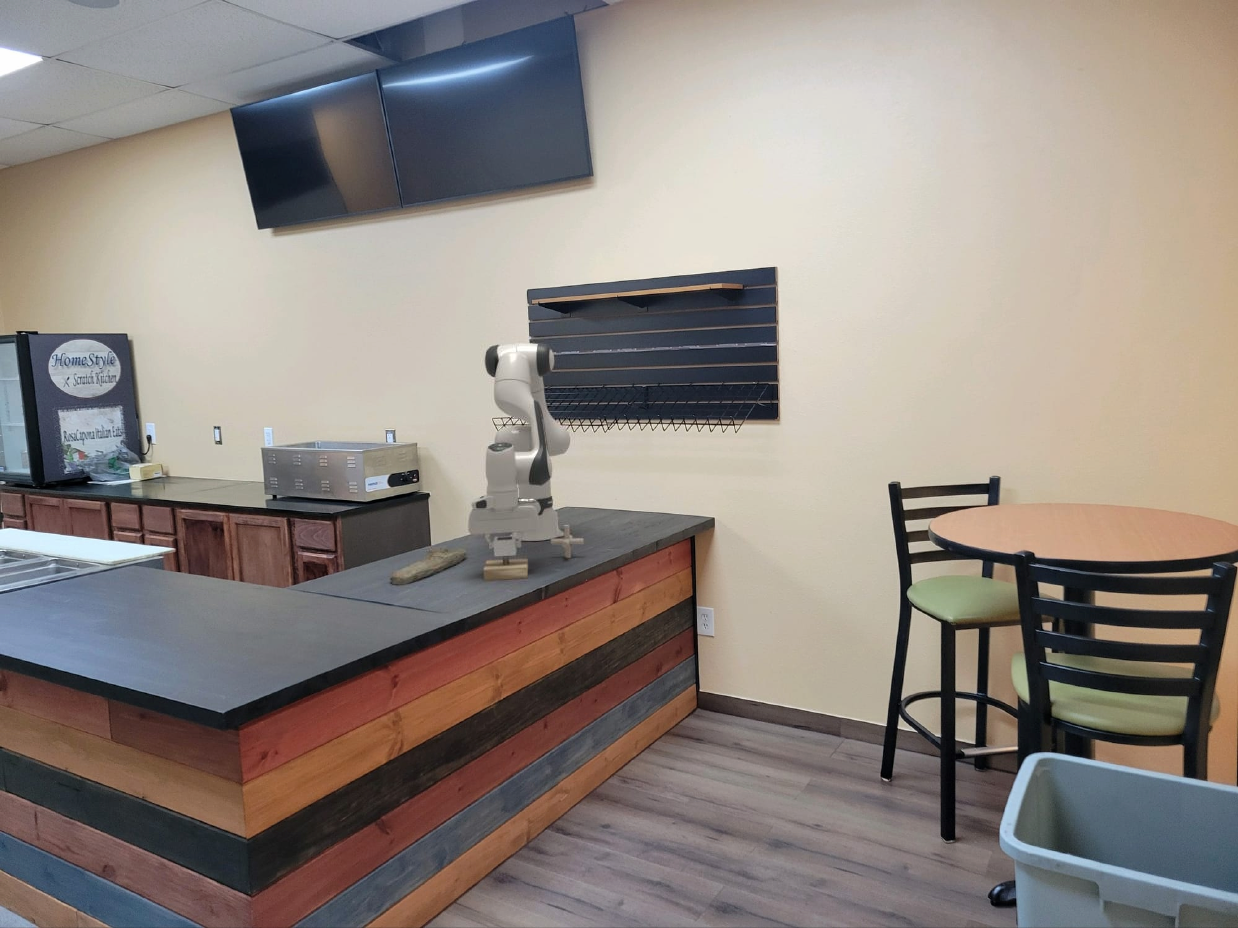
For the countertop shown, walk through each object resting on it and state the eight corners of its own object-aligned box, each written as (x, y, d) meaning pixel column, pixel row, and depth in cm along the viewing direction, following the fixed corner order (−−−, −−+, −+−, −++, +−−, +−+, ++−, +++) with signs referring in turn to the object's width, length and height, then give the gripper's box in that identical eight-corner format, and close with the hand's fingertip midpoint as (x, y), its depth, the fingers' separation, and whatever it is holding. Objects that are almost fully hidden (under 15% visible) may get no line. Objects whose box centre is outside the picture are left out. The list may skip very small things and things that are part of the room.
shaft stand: (487, 570, 251) (485, 541, 250) (528, 567, 252) (526, 539, 251) (484, 580, 239) (482, 550, 238) (527, 577, 240) (525, 548, 239)
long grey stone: (380, 589, 240) (411, 593, 237) (379, 571, 239) (410, 575, 235) (447, 554, 272) (474, 558, 269) (446, 538, 271) (474, 541, 268)
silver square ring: (495, 551, 248) (494, 536, 247) (516, 550, 248) (515, 535, 248) (494, 556, 242) (493, 541, 241) (515, 555, 242) (514, 539, 242)
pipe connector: (586, 553, 268) (584, 522, 267) (581, 560, 259) (580, 528, 257) (554, 553, 269) (553, 522, 268) (549, 561, 260) (547, 528, 258)
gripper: (539, 496, 247) (541, 543, 249) (468, 500, 246) (470, 547, 247) (539, 500, 241) (541, 548, 242) (466, 503, 239) (468, 552, 241)
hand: (505, 547), depth 245 cm, fingers closed on silver square ring, 6 cm apart
